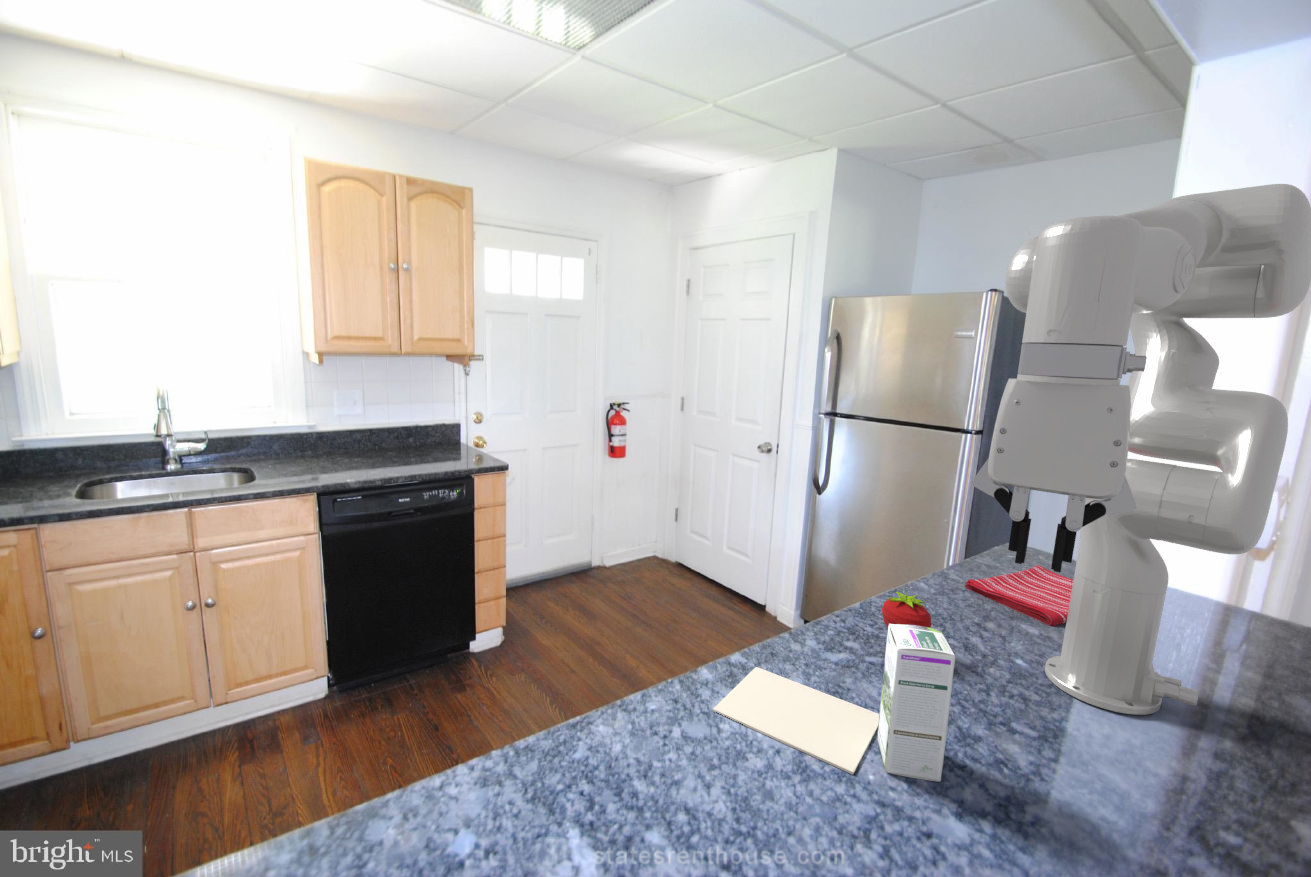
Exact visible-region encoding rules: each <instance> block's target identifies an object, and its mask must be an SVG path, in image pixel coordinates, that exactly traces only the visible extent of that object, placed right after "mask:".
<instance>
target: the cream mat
mask: <svg viewBox="0 0 1311 877" xmlns="http://www.w3.org/2000/svg"><path fill="white" fill-rule="evenodd" d="M712 712H714V713H716V712H718V713H719V715H720V714H722V715H723V717H725V716H726V717H725V718H727V717H728V718H727V719H729V718H730V719H729V720H731V719H732V720H731V721H733V720H734V722H736V721H737V722H736V723H738V722H739V724H740V723H741V725H742V724H743V726H744V725H745V726H744V727H747V728H749V729H751V730H754V731H756V732H758V733H760V734H762V735H764V736H766V737H770V738H771V739H774V740H775V741H778V742H780V743H782V744H784V745H787V746H789V747H791V748H793V749H796V750H798V751H800V752H802V753H804V754H807V755H809V756H810V757H813V758H815V759H818V760H819V761H822V762H824V763H827V764H828V765H831V766H833V767H835V768H838V769H840V770H842V771H844V772H846V773H849V774H850V775H854V774H855V772H856V770H857V769H858V766H859V765H860V763H861V761H862V759H863V756H864V755H865V753H866V751H867V750H868V747H869V746H870V744H871V741H872V740H873V738H874V736H875V734H876V732H877V731H878V724H879V713H878V712H874V711H872V710H869V709H868V708H864V707H861V706H859V705H857V704H854V703H851V702H849V701H846V700H843V699H841V698H838V697H836V696H833V695H831V694H829V693H825V692H823V691H820V690H817V689H815V688H812V687H810V686H808V685H805V684H802V683H801V682H800V683H799V682H797V681H794V680H791V679H789V678H787V677H784V676H781V675H779V674H776V673H774V672H771V671H769V670H765V669H763V668H761V667H757V666H755V667H754V668H753V669H752V670H751V671H750V672H749V673H748V674H747V675H746V676H745V677H744V678H743V679H742V680H741V681H740V682H739V683H737V684H736V685H735V686H734V688H733V689H731V690H730V691H729V693H727V694H726V695H725V696H724V698H722V699H721V700H720V701H719V702H718V703H717V704H716V705H715V706H714V707H713V708H712ZM718 713H717V714H718ZM722 715H721V716H722Z"/></svg>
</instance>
